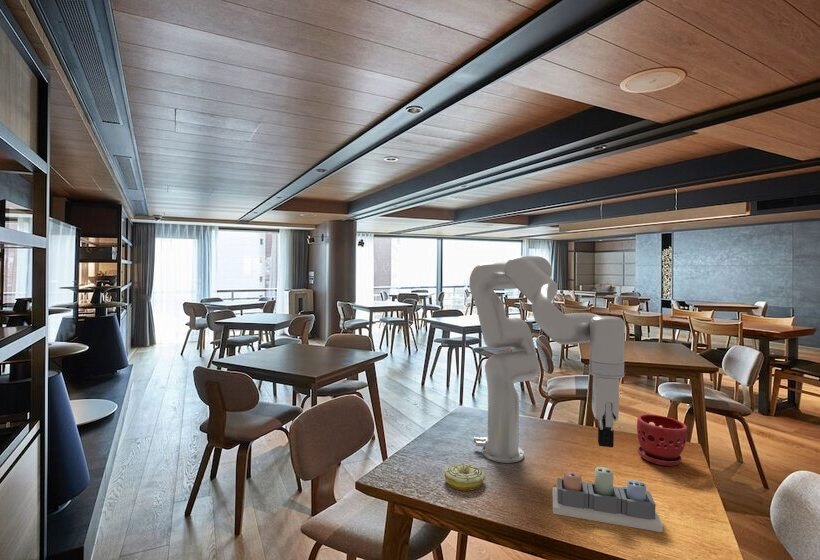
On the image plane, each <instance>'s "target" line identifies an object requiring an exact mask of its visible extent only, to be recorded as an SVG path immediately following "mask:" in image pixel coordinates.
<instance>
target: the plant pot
mask: <svg viewBox="0 0 820 560" xmlns="http://www.w3.org/2000/svg"><path fill="white" fill-rule="evenodd" d="M650 423H653V424H650ZM636 432H637V439H638V443H639V446H638V447H637V453H638V455H639V456H640V457H641V458H643V460H646V461H647V462H650V463H653V464H655V465H659V466H676V465H679V464H680V463H681V462H682V457H681V454H682V453H683V450H684V449H685V446H686V443H687V437H688V426H687V425H686V424H685V423H684V422H682V421H681V420H677V419H675V418H672V417H667V416H664V415H658V414H640V415H638V417H637V420H636Z"/></svg>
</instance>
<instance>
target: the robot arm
mask: <svg viewBox="0 0 820 560" xmlns="http://www.w3.org/2000/svg"><path fill="white" fill-rule="evenodd" d="M552 273H553V269H552V265H551V264H550V262H549V261H548V260H547V259H546V257H545V258H544V257H543V256H540V255H539V256H538V255H536V256H535V255H517V256H513V257H511V258H509V259H508V260H507V261H506V262H494V261H491V262H483V263H479V264H477V265H476V266H475V267H474V268H472V271H471V273H470V277H469V291H470V293H471V297H472V300H473V301H474V304H475V307H476V310H477V315H478V319H479V325H480V330H481V334H482V338H483V341H484V344H485V346H486V347H488V348H489V349H492V350H499V349H501V350H502V349H511V351H505V352H498V353H494V354H493V355H491V356H489V357H488V358H487V359H486V361H485V365H484V373H485V378H486V384H487V435H486V436H484V437H480V436H473V440H472V441H473V444H475V446H476V447H482V449H481V452H482V455H483V456H484V457H485V458H487V459H488V460H490V461H494V462H497V463H503V464H511V463H518V462H520V461H522V460H523V459H524V457H525V453H524V450H523V449H522V448H521V447H520V445H519V444H520V439H519V438H520V397H519V394H518V391H517V389H516V387H515V384H517V383H522V382H527V381H531V380H534V379H535V378H536V377H537V375H538V374H539V368H540V365H539V360H538V355H537V351H536V347H535V343H534V339H533V335H532V331H531V329H530V326H529V325H528V324H527V322H526V321H525V320H524V319H522V318H519V317H508V316H507V315H506V311H505V306H504V303H503V301H502V300H501V298H500V296H499V295H498V294H496V292H495V291H494V290H510V289H511V290H513V289H514V290H515V289H516V290H518V291H520V293H521V294H522V295H523V296H524V297H525V298H526V299H527V300H528V301H529V302H530V303H531V312H532V315H533V319H534V321H535V324H536V325H537V326H538V327H539V328H540V329H541V330H542V331H543V332H544V333H545V335H547V337H549V338H550V339H551V340H552V341H554V342H555V343H557V344H560V345H564V346H566V345H573V344H574V345H575V344H584V343H585V344H586V343H589V359H588V360H589V361H588V362H589V363H588V364H589V367H588V368H589V371H588V372H589V374H590V375H591V376H593V377H592V378H593V379H592V395H591V396H592V398H591V410H592V414H593V417H594V418H595V419H596V420H598V427H597V443H598V446H599V447H603V448H604V447H605V448H614V441H615V440H614V439H615V438H614V437H615V435H614V431H615V430H614V422H616V421H618V420H619V410H620V409H619V408H620V379H623V378H624V377H625V343H626V342H625V341H626V340H625V338H626V335H625V331H626V330H625V329H626V327H625V321H624V320H623V318H622V317H618V316H613V315H611V316H610V315H599V314H596V313H593V312H592V313H591V312H572V313H571V312H570V313H564V312H562V311H561V310H560V309H559V308H558V307H557V306H555V304H554V303H553V302H552V301H553V300H554V298H555V297H556V296H557V294H558V291H559V289H558V284H557V282H556V281H555V280H554V279H552V278H551V277H552Z"/></svg>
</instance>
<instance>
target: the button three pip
mask: <svg viewBox="0 0 820 560" xmlns="http://www.w3.org/2000/svg"><path fill="white" fill-rule="evenodd" d="M626 487H627V499H632V500H638V501H644V502H646V491H647V485H646V483H644V482H642V481H639V480H636V479H635V480H634V479H629V480H627V481H626Z"/></svg>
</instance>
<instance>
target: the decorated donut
mask: <svg viewBox="0 0 820 560" xmlns="http://www.w3.org/2000/svg"><path fill="white" fill-rule="evenodd" d="M444 478H445V482H446V483H447V484H448V486H450V487H452V488H453V489H455V490H456V491H457V490H459V491H464V492H468V491H472V490H474V491H475V490H477V489H479V488H480V487H481V486H482V484H483V483H484V481H485V480H486V474H485V473H484V471H483V470H482V469H481V468H480V467H478V466H477V465H474V464H472V463H467V462H466V463H455V464H452V465H449V466H448V467H446V469H444Z"/></svg>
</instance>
